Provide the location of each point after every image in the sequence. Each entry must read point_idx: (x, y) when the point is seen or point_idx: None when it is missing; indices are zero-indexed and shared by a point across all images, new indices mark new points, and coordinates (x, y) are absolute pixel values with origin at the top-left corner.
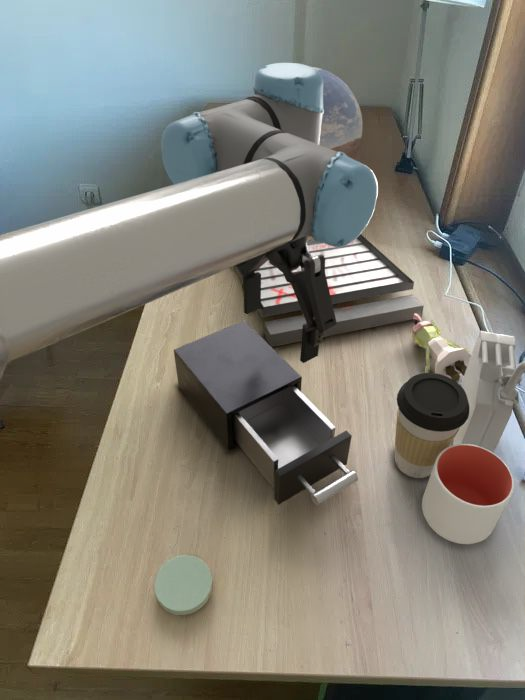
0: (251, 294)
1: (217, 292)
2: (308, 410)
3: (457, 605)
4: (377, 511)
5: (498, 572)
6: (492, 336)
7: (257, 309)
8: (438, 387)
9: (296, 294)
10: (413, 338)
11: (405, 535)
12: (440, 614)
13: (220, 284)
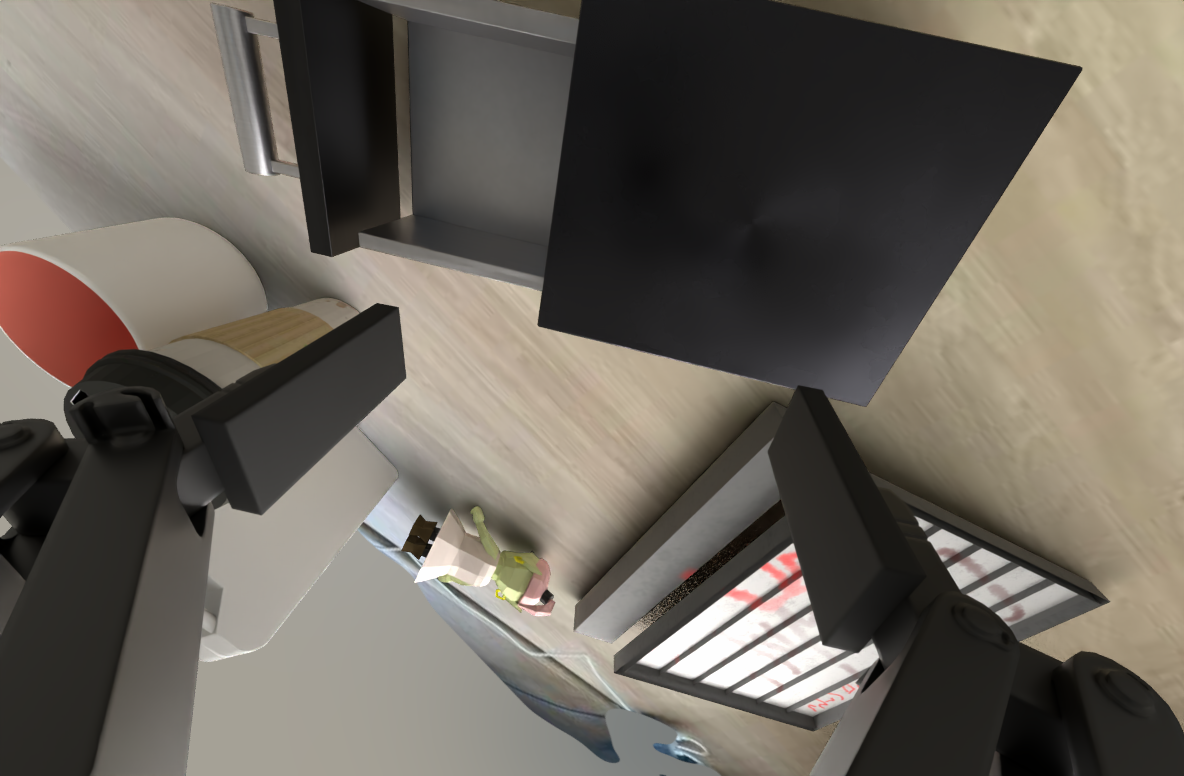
0: (817, 486)
1: (1054, 476)
2: (465, 252)
3: (58, 116)
4: (275, 180)
5: None
6: (218, 648)
7: (774, 439)
8: None
9: (93, 644)
10: (538, 562)
11: (209, 174)
12: (45, 71)
13: (1063, 503)
